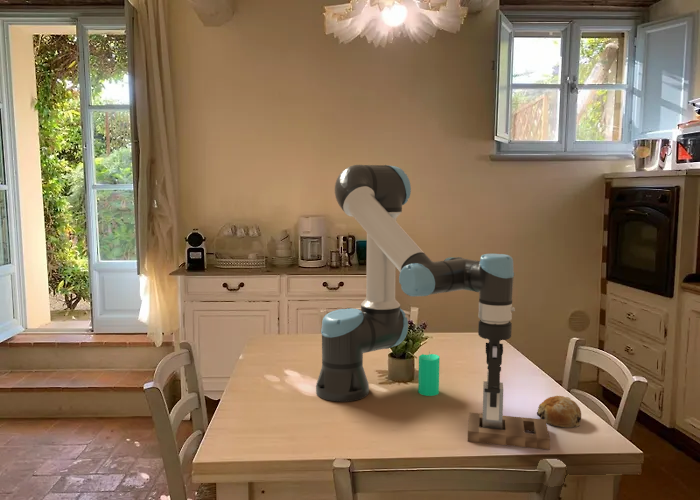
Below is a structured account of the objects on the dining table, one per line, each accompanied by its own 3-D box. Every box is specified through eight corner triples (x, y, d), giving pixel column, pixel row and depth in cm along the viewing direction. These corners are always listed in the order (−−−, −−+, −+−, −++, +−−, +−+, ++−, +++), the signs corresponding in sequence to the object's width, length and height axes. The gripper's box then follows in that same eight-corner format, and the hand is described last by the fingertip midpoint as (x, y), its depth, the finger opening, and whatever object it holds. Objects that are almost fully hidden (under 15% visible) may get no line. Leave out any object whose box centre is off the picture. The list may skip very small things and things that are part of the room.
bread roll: (567, 444, 137) (584, 419, 134) (529, 419, 141) (544, 394, 139) (575, 429, 145) (590, 405, 143) (539, 406, 150) (553, 382, 147)
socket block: (467, 441, 131) (467, 430, 130) (469, 422, 141) (469, 412, 141) (549, 449, 126) (549, 439, 126) (544, 429, 137) (545, 419, 137)
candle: (441, 390, 163) (442, 350, 162) (435, 397, 158) (436, 355, 156) (421, 387, 166) (422, 347, 164) (415, 393, 160) (415, 352, 159)
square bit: (482, 436, 133) (483, 387, 132) (482, 428, 137) (483, 381, 136) (501, 438, 132) (503, 389, 130) (501, 430, 136) (502, 382, 135)
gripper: (514, 335, 119) (510, 431, 121) (509, 309, 143) (507, 390, 145) (477, 332, 120) (475, 428, 123) (479, 308, 144) (477, 388, 147)
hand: (492, 408), depth 134 cm, fingers open, 13 cm apart
